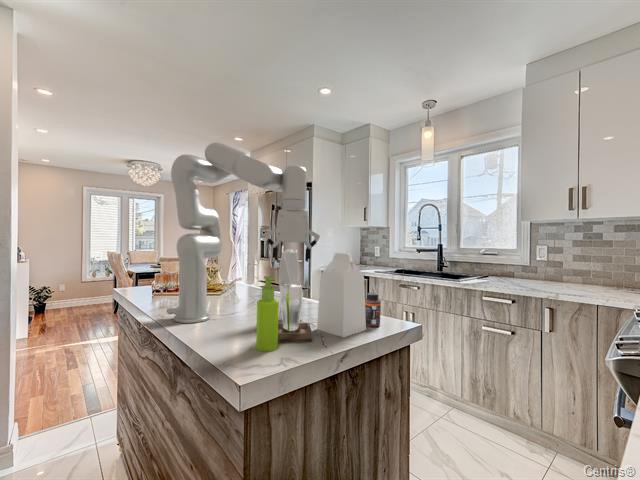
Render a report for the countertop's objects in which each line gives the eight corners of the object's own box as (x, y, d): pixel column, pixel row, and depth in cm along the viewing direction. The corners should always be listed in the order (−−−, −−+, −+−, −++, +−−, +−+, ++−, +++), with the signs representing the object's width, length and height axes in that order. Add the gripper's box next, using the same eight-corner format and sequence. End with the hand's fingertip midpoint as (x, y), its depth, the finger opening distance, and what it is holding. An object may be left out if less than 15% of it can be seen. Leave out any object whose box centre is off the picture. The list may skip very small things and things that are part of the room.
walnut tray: (271, 342, 93) (271, 333, 93) (272, 330, 105) (272, 322, 105) (311, 341, 95) (312, 333, 95) (308, 330, 107) (309, 322, 107)
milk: (365, 330, 108) (367, 253, 107) (343, 337, 99) (344, 254, 99) (339, 323, 116) (340, 252, 116) (316, 329, 108) (318, 252, 108)
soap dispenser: (259, 354, 84) (261, 278, 84) (254, 345, 90) (255, 275, 90) (281, 351, 86) (282, 277, 86) (274, 343, 93) (275, 274, 92)
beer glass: (298, 337, 96) (299, 287, 96) (276, 335, 97) (277, 286, 97) (304, 330, 103) (305, 284, 102) (283, 328, 104) (284, 283, 104)
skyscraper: (271, 320, 117) (273, 245, 117) (287, 317, 124) (289, 244, 123) (287, 325, 112) (288, 245, 112) (303, 321, 118) (304, 245, 118)
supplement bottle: (378, 328, 110) (379, 295, 110) (361, 326, 112) (362, 294, 112) (381, 324, 116) (382, 293, 116) (365, 322, 118) (365, 291, 118)
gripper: (264, 203, 95) (262, 261, 95) (322, 206, 97) (320, 262, 97) (266, 206, 103) (264, 259, 103) (319, 208, 104) (317, 260, 105)
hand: (291, 260), depth 100 cm, fingers open, 9 cm apart
